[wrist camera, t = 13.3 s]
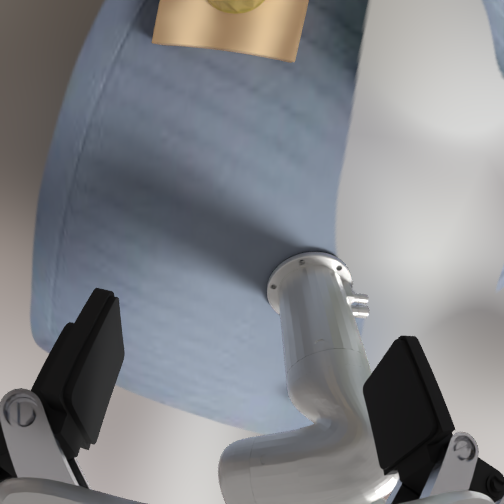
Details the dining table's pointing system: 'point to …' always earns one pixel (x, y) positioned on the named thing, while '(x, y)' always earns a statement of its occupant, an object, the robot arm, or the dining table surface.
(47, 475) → the robot arm
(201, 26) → the plinth
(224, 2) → the vase
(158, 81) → the dining table surface
